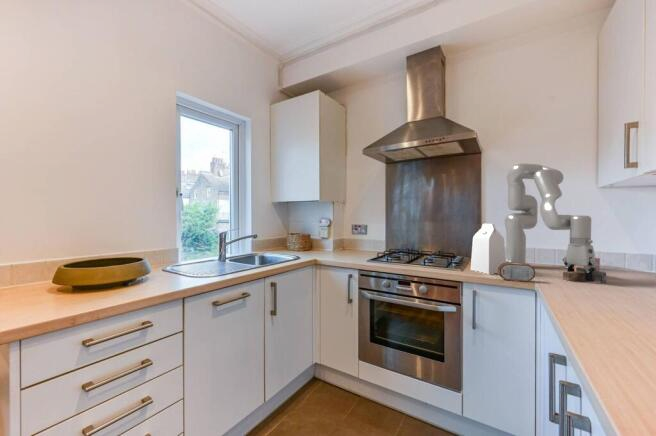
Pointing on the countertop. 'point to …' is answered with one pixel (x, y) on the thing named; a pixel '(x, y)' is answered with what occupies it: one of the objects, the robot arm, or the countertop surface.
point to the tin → (516, 271)
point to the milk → (487, 250)
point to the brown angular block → (580, 275)
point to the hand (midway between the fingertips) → (579, 278)
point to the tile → (588, 268)
